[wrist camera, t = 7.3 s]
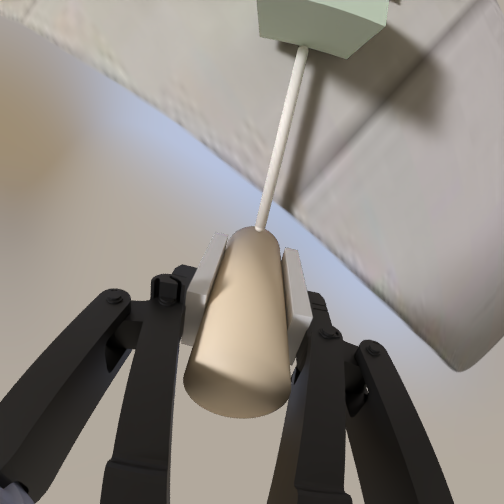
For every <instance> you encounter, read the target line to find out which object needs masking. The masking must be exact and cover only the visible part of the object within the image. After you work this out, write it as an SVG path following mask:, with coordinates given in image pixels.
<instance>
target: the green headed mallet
mask: <svg viewBox="0 0 504 504" xmlns="http://www.w3.org/2000/svg"><path fill="white" fill-rule="evenodd" d="M388 5H389V0H257V9H258V20H259V32H260V37H263V38H268V39H273V40H278V41H283V42H287V43H291V44H295V45H299V46H300V47H299V48H298V51H297V55H296V59H295V63H294V67H293V71H292V75H291V79H290V83H289V87H288V91H287V96H286V100H285V104H284V108H283V112H282V116H281V120H280V124H279V128H278V132H277V137H276V141H275V145H274V149H273V153H272V157H271V161H270V165H269V170H268V174H267V178H266V182H265V186H264V190H263V194H262V199H261V203H260V207H259V212H258V215H257V219H256V224H255V226H251V227H245V228H242V229H240V230H238V231H236V232H235V233H234V234H233V235H232V236H231V238H230V239H229V241H228V244H227V247H226V249H225V253H224V255H223V258H222V261H221V264H220V267H219V270H218V273H217V276H216V279H215V282H214V285H213V288H212V291H211V294H210V297H209V300H208V303H207V306H206V309H205V312H204V315H203V317H202V320H201V323H200V326H199V329H198V332H197V335H196V339H195V342H194V345H193V348H192V351H191V354H190V357H189V360H188V364H187V367H186V370H185V373H184V377H183V383H184V387H185V390H186V392H187V393H188V395H189V396H190V398H191V399H192V400H193V401H194V402H195V403H197V404H198V405H199V406H201V407H203V408H204V409H206V410H208V411H210V412H213V413H215V414H218V415H221V416H225V417H230V418H256V417H260V416H264V415H267V414H270V413H272V412H274V411H276V410H278V409H279V408H280V407H282V406H283V405H284V404H285V403H286V401H287V400H288V399H289V396H290V394H291V375H290V361H289V347H288V334H287V322H286V310H285V299H284V288H283V277H282V266H281V256H280V248H279V244H278V241H277V239H276V238H275V237H274V236H273V234H271V233H270V232H269V231H267V230H266V229H265V226H266V223H267V218H268V214H269V211H270V206H271V203H272V199H273V195H274V191H275V187H276V183H277V179H278V175H279V171H280V167H281V163H282V159H283V155H284V151H285V147H286V143H287V139H288V134H289V130H290V126H291V122H292V118H293V114H294V110H295V106H296V102H297V98H298V94H299V90H300V85H301V81H302V77H303V73H304V69H305V65H306V61H307V56H308V52H309V49H308V48H311V49H314V50H318V51H321V52H325V53H328V54H331V55H334V56H337V57H341V58H343V59H346V60H347V59H348V58H349V57H350V56H351V55H352V54H353V53H355V52H356V51H357V50H358V49H359V48H360V47H361V46H363V45H364V44H365V43H366V42H367V41H369V40H370V39H371V38H372V37H373V36H375V35H376V34H377V33H378V32H379V31H381V30H382V29H383V28H384V27H385V26H386V19H387V12H388Z"/></svg>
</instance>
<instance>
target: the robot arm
mask: <svg viewBox="0 0 504 504" xmlns="http://www.w3.org/2000/svg"><path fill="white" fill-rule="evenodd" d="M227 239H228V235H227V234H222V233H218V232H215V234H214V236H213V238H212V240H211V242H210V244H209V246H208V248H207V250H206V252H205V254H204V256H203V258H202V260H201V262H200V264H199V266H198V268H195V267H191V266H187V265H180V266H178V267H177V268H175V270H174V271H173V273H172V274H160V275H157V276H155V277H153V279H152V280H151V298H150V300H148V301H131V298H130V295H129V294H128V293H127V292H126V291H124V290H121V289H108V290H105V291H103V292H102V293H100V294H99V295H98V296H97V297H96V298H95V299H94V300H93V301H92V302H91V303H90V304H89V305H88V306H87V307H86V308H85V309H84V310H83V311H82V312H81V313H80V314H79V315H78V316H77V317H76V318H75V319H74V320H73V321H72V322H71V323H70V324H69V325H68V326H67V327H66V328H65V329H64V330H63V331H62V333H61V334H60V335H59V336H58V337H57V338H56V339H55V340H54V341H53V342H52V343H51V344H50V345H49V346H48V348H47V349H46V350H45V351H44V352H43V353H42V354H41V355H40V356H39V357H38V359H37V360H36V361H35V362H34V363H33V364H32V365H31V366H30V367H29V369H28V370H27V371H26V372H25V373H24V374H23V376H22V377H21V378H20V379H19V380H18V381H17V383H16V384H15V385H14V386H13V387H12V389H11V390H10V391H9V392H8V393H7V395H6V396H5V397H4V398H3V400H2V401H1V402H0V504H35V503H36V502H37V501H39V500H40V498H41V497H42V496H43V495H44V494H45V493H46V491H47V490H48V488H49V487H50V485H51V483H52V482H53V480H54V478H55V477H56V475H57V473H58V471H59V469H60V467H61V466H62V464H63V462H64V460H65V459H66V457H67V455H68V453H69V452H70V450H71V448H72V446H73V444H74V443H75V441H76V439H77V438H78V436H79V434H80V433H81V431H82V429H83V428H84V426H85V424H86V422H87V421H88V419H89V418H90V416H91V414H92V413H93V411H94V409H95V408H96V406H97V405H98V403H99V401H100V400H101V398H102V396H103V395H104V393H105V391H106V390H107V388H108V387H109V385H110V384H111V382H112V380H113V379H114V377H115V376H116V374H117V373H118V371H119V369H120V368H121V366H122V365H123V363H124V362H125V360H126V359H127V357H128V356H129V354H130V353H131V351H132V349H136V350H135V354H134V358H133V361H132V365H131V369H130V373H129V378H128V382H127V386H126V390H125V394H124V399H123V404H122V409H121V413H120V418H119V423H118V428H117V433H116V439H115V444H114V450H113V455H112V458H111V459H110V460H109V461H108V462H107V464H106V467H105V471H104V478H103V484H102V492H101V499H100V504H170V463H171V442H172V423H173V408H174V396H175V385H176V374H177V363H178V354H179V343H180V340H181V337H182V340H181V343H182V344H185V345H189V346H193V345H194V342H195V339H196V335H197V332H198V329H199V326H200V323H201V320H202V317H203V315H204V312H205V309H206V306H207V303H208V300H209V297H210V294H211V291H212V288H213V285H214V282H215V279H216V276H217V273H218V270H219V267H220V264H221V261H222V258H223V255H224V253H225V249H226V244H227ZM281 266H282V277H283V288H284V299H285V310H286V322H287V334H288V347H289V361H290V365H293V362H294V360H295V358H296V361H297V366H296V367H295V370H294V372H293V374H292V376H291V394H290V396H289V400H288V406H287V411H286V417H285V423H284V427H283V432H282V438H281V443H280V447H279V452H278V457H277V462H276V466H275V470H274V475H273V480H272V484H271V488H270V492H269V496H268V500H267V504H352V498H351V496H350V495H348V494H347V493H345V491H344V472H345V438H346V431H345V430H347V434H348V438H349V442H350V445H351V449H352V453H353V457H354V461H355V465H356V468H357V473H358V477H359V481H360V485H361V489H362V494H363V498H364V502H365V504H454V502H453V499H452V496H451V494H450V491H449V488H448V486H447V483H446V480H445V478H444V475H443V472H442V469H441V467H440V465H439V462H438V459H437V457H436V455H435V452H434V450H433V447H432V445H431V443H430V440H429V438H428V436H427V434H426V431H425V429H424V427H423V424H422V422H421V420H420V418H419V416H418V413H417V411H416V409H415V407H414V405H413V403H412V401H411V399H410V396H409V395H408V392H407V390H406V388H405V386H404V384H403V382H402V380H401V378H400V376H399V374H398V372H397V370H396V368H395V366H394V364H393V362H392V360H391V358H390V356H389V355H388V353H387V351H386V349H385V348H384V347H383V346H382V345H381V344H379V343H378V342H376V341H372V340H364V341H362V342H361V343H360V345H359V347H358V346H355V345H353V344H350V343H347V342H345V341H343V337H342V334H341V333H340V331H339V330H338V329H336V328H335V327H333V326H332V324H331V320H330V317H329V313H328V312H327V311H328V310H327V307H326V303H325V300H324V299H323V297H322V296H321V295H320V294H319V293H315V292H311V291H307V288H306V284H305V279H304V275H303V271H302V267H301V263H300V258H299V254H298V251H297V250H294V249H290V248H285V250H284V253H283V257H282V260H281ZM366 387H367V388H368V391H367V389H366ZM368 392H369V393H368Z"/></svg>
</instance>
